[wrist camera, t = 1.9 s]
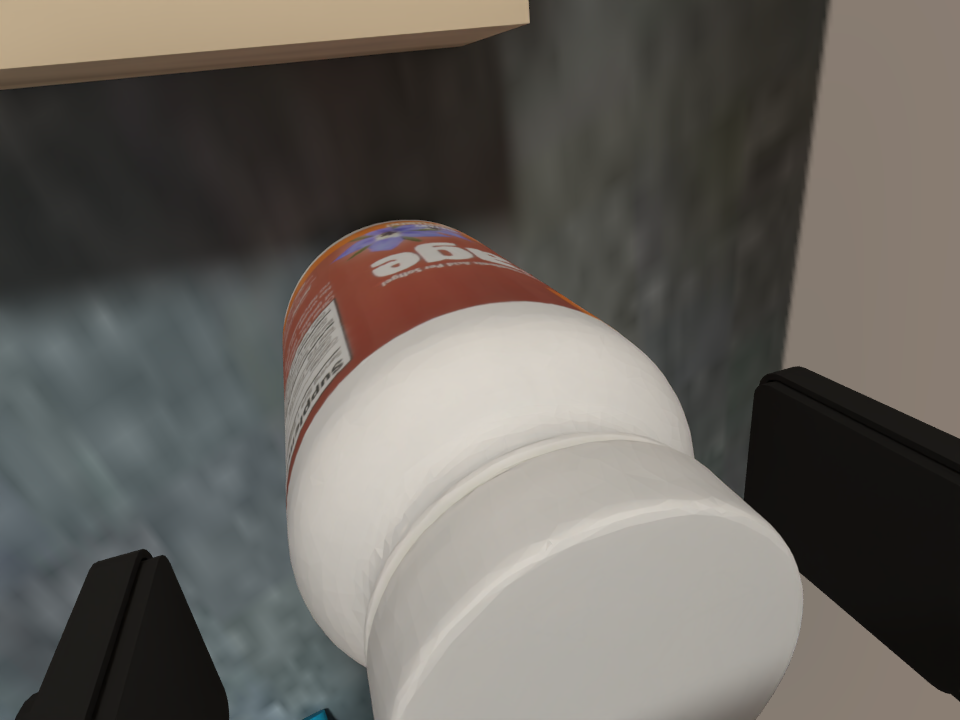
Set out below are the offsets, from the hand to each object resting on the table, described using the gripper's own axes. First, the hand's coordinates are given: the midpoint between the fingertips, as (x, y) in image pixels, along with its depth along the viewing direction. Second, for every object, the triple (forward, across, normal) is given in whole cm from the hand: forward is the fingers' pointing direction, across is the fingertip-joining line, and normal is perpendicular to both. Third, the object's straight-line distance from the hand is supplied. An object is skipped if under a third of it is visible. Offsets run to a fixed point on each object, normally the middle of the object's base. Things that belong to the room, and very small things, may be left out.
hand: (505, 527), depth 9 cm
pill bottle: (+8, 0, -1) cm, 8 cm away
